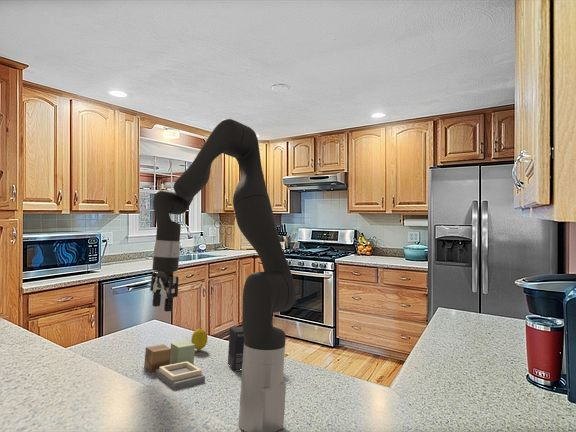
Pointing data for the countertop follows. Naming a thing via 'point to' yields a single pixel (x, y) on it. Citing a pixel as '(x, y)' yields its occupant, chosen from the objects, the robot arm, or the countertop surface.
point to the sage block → (182, 352)
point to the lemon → (199, 338)
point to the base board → (180, 374)
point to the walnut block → (157, 357)
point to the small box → (236, 348)
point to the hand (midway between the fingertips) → (161, 308)
